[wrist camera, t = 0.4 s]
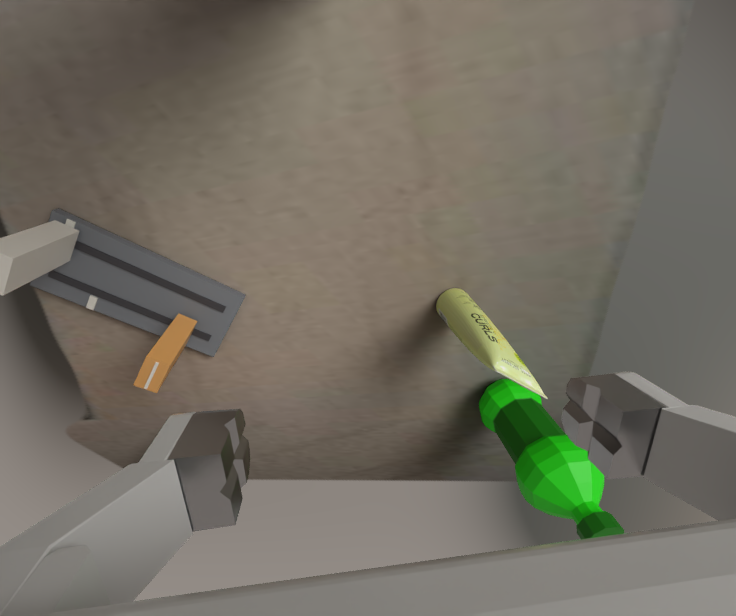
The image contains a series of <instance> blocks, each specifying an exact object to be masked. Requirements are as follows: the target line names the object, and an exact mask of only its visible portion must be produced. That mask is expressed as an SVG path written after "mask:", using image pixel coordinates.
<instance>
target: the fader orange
mask: <svg viewBox="0 0 736 616" xmlns="http://www.w3.org/2000/svg"><path fill="white" fill-rule="evenodd" d="M196 323H197V321H196V320H194V319H191V318H189V317H186V316H184V315H182V314H178V315H177V316H176V318H175V319H174V320H173V321H172V323H171V324H170V325H169V327H168V328H167V329H166V331H165V332H164V333H163V335H162V336H161V337H160V339H159V340H158V341H157V343H156V344H155V345H154V347H153V348H152V349H151V351H150V352H149V353H148V355H147V356H146V358H145V360H144V362H143V365H142V367H141V369H140V371H139V374H138V376H137V378H136V380H135V382H134V386H137V387H140V388H143V389H146V390H149V391H152V392H155V393H157V392H158V390H159V389H160V387H161V386H162V384H163V382H164V381H165V379H166V377H167V376H168V374H169V372H170V371H171V369H172V367H173V366H174V364H175V362H176V361H177V359H178V357H179V356H180V354H181V352H182V351H183V349H184V347H185V346H186V344H187V342H188V340H189V338H190V336H191V334H192V332H193V330H194V328H195V325H196Z"/></svg>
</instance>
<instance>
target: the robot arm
mask: <svg viewBox="0 0 736 616" xmlns="http://www.w3.org/2000/svg"><path fill="white" fill-rule="evenodd" d="M566 394H567V396H568V398H569V399H570V401H569V402H568V403H567V404H566V405H565V407H564V408H563V414H562V422H563V426H564V431H565V432H566V434H567V436H568V438H569V439H570V440H571V441H572V442H573V443H574V444H575V446H578V447H580V448H582V449H584V450H586V451H588V459H589V460H590V461H591V462H592V463H593V464H594V465H595V466H596V467H597V468H598V469H599V471H600V472H601V473H602V474H603V475H604V476H606V478H607V479H617V478H628V477H638V476H644V477H643V478H644V479H646V480H648V481H650V482H651V483H654V484H655V485H657V486H658V487H660V488H662V489H664V490H665V491H667V492H669V493H671V494H672V495H674V496H676V497H678V498H680V499H681V500H683V501H685V502H687V503H688V504H690V505H692V506H694V507H695V508H697V509H699V510H701V511H702V512H704V513H706V514H708V515H709V516H711V517H713V518H715V519H717V520H718V521H712V522H705V523H698V524H690V525H683V526H675V527H668V528H662V529H653V530H646V531H639V532H631V533H624V534H617V535H609V536H602V537H594V538H587V539H580V540H573V541H566V542H558V543H551V544H544V545H537V546H530V547H523V548H515V549H508V550H500V551H493V552H486V553H479V554H472V555H465V556H457V557H450V558H443V559H436V560H429V561H421V562H415V563H408V564H400V565H393V566H386V567H378V568H371V569H364V570H357V571H349V572H342V573H335V574H328V575H320V576H313V577H306V578H299V579H292V580H284V581H277V582H270V583H263V584H255V585H249V586H241V587H234V588H227V589H220V590H212V591H205V592H198V593H191V594H184V595H176V596H169V597H161V598H154V599H147V600H140V601H134V599H135V598H136V597H137V596H138V595H139V594H140V593H141V592H142V591H143V589H144V588H145V587H146V586H147V585H148V584H149V583H150V582H151V580H152V579H153V578H154V577H155V576H156V575H157V574H158V573H159V571H160V570H161V569H162V568H163V567H164V566H165V565H166V563H167V562H168V561H169V560H170V559H171V558H172V557H173V556H174V555H175V553H176V552H177V551H178V550H179V549H180V548H181V547H182V546H183V544H184V543H185V542H186V541H187V540H188V539H189V538H190V537H191V535H192V534H193V531H199V530H206V529H212V528H219V527H225V526H232V525H236V521H237V517H238V513H239V510H240V506H241V502H242V494H241V487H242V486H243V485H245V484H246V483H247V479H248V475H249V468H250V448H249V442H248V440H247V439H246V438H245V437H244V436H243V435H242V434H243V431H244V427H245V420H244V415H243V412H242V410H241V409H230V410H217V411H203V412H189V413H180V414H174V415H171V416H170V417H169V418H168V419H167V421H166V422H165V424H164V425H163V427H162V428H161V430H160V431H159V433H158V434H157V436H156V437H155V439H154V440H153V442H152V443H151V445H150V446H149V448H148V449H147V451H146V452H145V454H144V455H143V456H142V458H141V459H140V461H139V462H138V463H135V464H130V465H128V466H126V467H125V468H123V469H122V470H120V471H119V472H117V473H115V474H114V475H112V476H111V477H109V478H108V479H106V480H104V481H103V482H101V483H100V484H98V485H96V486H95V487H93V488H92V489H90V490H89V491H87V492H85V493H84V494H82V495H81V496H79V497H78V498H76V499H74V500H73V501H71V502H70V503H68V504H66V505H65V506H63V507H62V508H60V509H59V510H57V511H56V512H54V513H52V514H51V515H49V516H48V517H46V518H45V519H43V520H41V521H40V522H38V523H37V524H35V525H33V526H32V527H30V528H29V529H27V530H25V531H24V532H22V533H21V534H19V535H18V536H16V537H14V538H13V539H11V540H10V541H8V542H7V543H5V544H3V545H2V546H0V616H736V417H734V416H731V415H727V414H724V413H720V412H717V411H714V410H710V409H707V408H703V407H700V406H697V405H687V404H686V403H684V402H682V401H681V400H679V399H677V398H676V397H674V396H672V395H671V394H669V393H667V392H666V391H664V390H662V389H661V388H659V387H658V386H656V385H654V384H653V383H651V382H649V381H648V380H646V379H644V378H643V377H641V376H639V375H638V374H636V373H633V372H628V371H626V372H618V373H611V374H604V375H596V376H587V377H579V378H571V379H570V381H569V382H568V384H567V388H566Z"/></svg>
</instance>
